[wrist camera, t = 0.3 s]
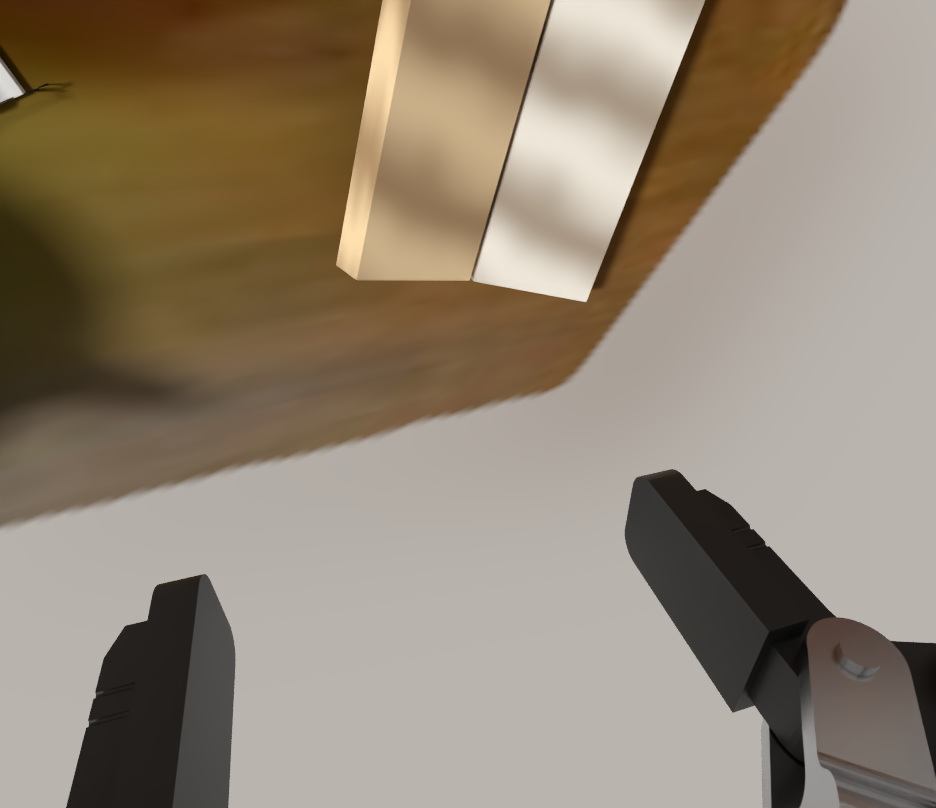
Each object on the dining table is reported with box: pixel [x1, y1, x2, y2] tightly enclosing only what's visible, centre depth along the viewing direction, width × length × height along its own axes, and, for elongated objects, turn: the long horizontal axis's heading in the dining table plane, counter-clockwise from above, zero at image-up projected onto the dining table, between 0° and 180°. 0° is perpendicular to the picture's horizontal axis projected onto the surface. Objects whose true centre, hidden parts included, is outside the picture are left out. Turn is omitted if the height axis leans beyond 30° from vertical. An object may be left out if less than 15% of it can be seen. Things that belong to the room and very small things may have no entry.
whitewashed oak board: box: [471, 0, 705, 302], centre depth 32 cm, size 24×8×2 cm, turn 164°
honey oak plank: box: [336, 0, 551, 281], centre depth 27 cm, size 24×8×2 cm, turn 164°
